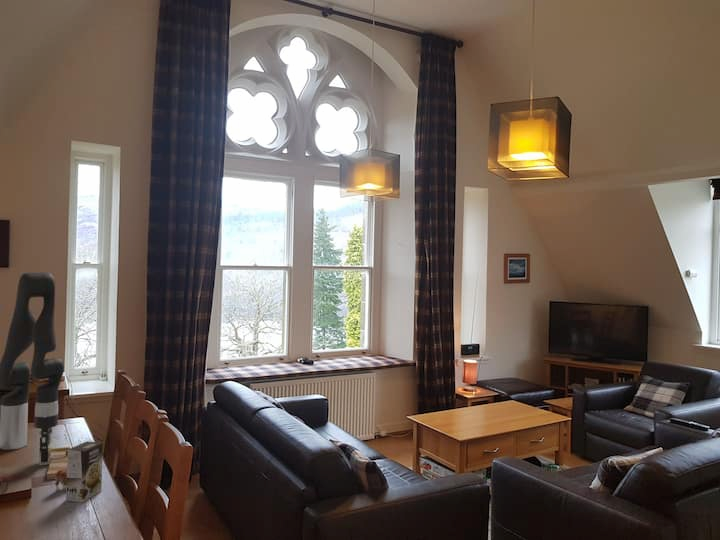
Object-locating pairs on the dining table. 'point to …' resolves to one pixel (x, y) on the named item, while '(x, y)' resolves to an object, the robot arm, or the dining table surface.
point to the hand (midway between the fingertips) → (45, 459)
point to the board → (57, 464)
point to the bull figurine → (61, 477)
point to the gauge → (51, 452)
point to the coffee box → (84, 471)
